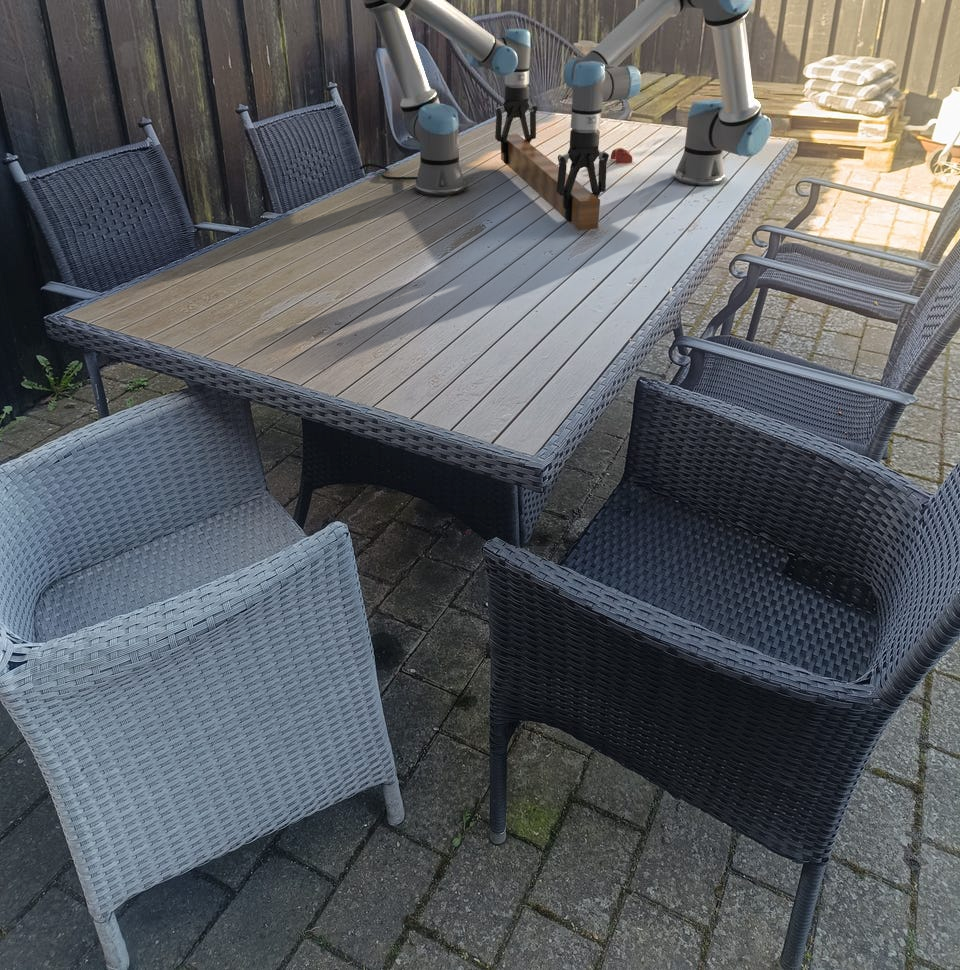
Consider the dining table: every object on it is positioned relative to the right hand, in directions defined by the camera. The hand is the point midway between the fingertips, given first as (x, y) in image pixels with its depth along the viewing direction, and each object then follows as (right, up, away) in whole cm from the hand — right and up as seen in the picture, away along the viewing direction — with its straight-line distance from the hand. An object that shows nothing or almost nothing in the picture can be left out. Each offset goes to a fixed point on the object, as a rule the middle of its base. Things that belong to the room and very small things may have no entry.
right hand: (579, 219), depth 229 cm
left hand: (-16, +33, +46) cm, 59 cm away
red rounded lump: (+21, +37, +55) cm, 69 cm away
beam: (-8, +16, +23) cm, 30 cm away
